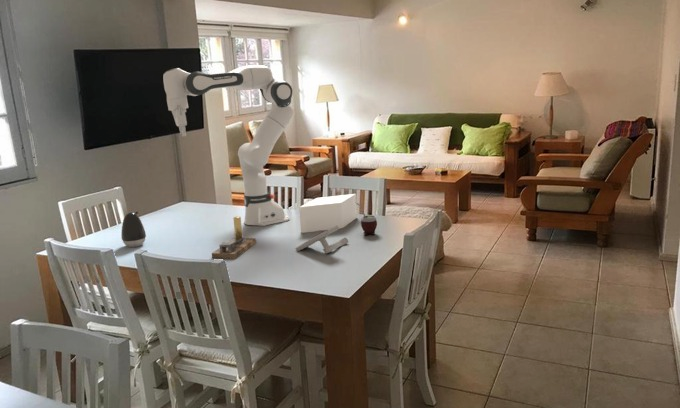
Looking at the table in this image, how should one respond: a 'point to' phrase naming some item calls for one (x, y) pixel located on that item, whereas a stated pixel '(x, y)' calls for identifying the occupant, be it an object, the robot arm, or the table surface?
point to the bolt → (237, 230)
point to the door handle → (324, 241)
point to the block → (328, 213)
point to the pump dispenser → (132, 230)
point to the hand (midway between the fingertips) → (183, 136)
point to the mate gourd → (368, 223)
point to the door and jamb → (233, 248)
